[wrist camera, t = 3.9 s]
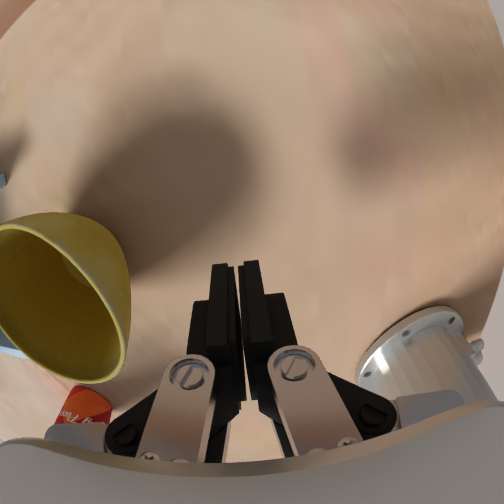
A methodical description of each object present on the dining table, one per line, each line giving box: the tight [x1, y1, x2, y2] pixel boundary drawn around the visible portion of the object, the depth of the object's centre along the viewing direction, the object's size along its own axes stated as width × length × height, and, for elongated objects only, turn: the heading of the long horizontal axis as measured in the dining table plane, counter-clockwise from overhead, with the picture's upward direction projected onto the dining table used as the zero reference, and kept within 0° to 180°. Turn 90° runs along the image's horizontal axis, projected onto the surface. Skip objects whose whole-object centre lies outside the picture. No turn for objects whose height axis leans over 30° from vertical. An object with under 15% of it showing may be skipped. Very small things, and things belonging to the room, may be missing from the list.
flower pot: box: [0, 212, 131, 384], centre depth 13 cm, size 10×10×7 cm
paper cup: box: [55, 386, 112, 424], centre depth 19 cm, size 8×8×14 cm
